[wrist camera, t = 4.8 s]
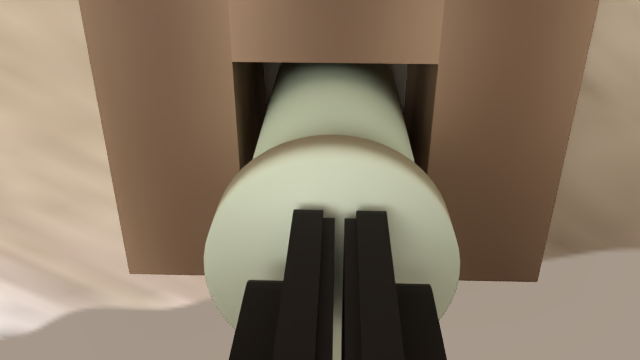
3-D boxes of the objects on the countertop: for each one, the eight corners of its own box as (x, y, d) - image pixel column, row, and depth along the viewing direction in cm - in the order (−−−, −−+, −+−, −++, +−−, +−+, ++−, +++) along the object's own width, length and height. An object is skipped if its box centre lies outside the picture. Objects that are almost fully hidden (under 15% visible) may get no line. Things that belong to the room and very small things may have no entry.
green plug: (410, 15, 19) (476, 160, 10) (400, 149, 21) (445, 368, 12) (262, 14, 19) (191, 156, 10) (267, 148, 22) (214, 363, 12)
